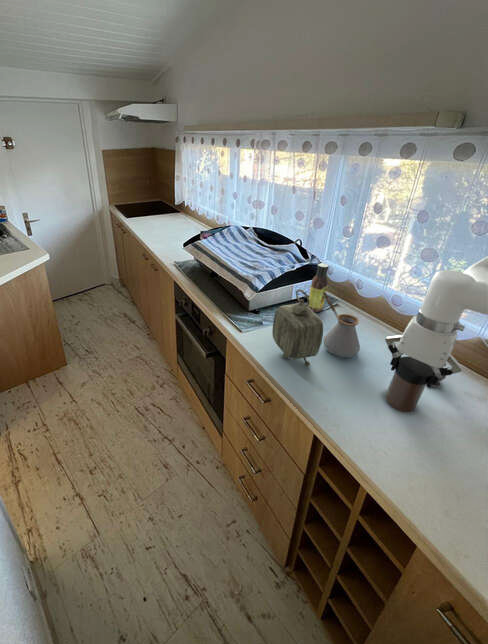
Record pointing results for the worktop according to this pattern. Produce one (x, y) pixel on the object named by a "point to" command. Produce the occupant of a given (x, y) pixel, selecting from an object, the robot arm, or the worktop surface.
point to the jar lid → (413, 370)
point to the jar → (403, 394)
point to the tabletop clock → (297, 330)
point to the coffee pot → (342, 335)
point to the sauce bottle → (318, 288)
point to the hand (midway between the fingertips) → (411, 375)
